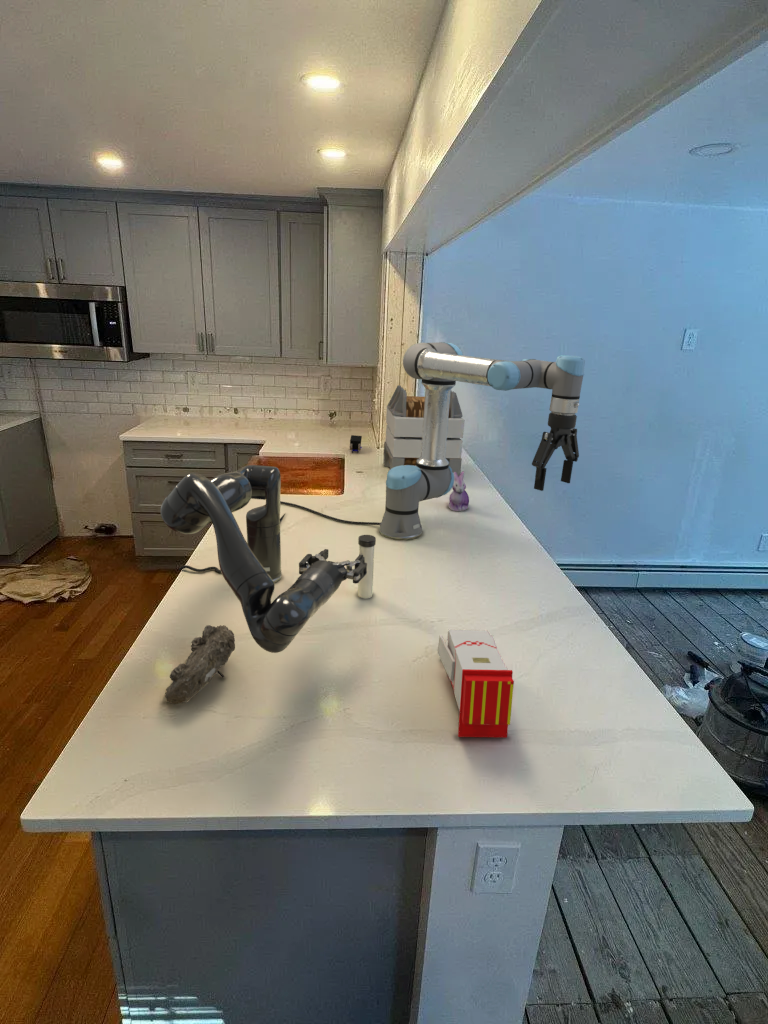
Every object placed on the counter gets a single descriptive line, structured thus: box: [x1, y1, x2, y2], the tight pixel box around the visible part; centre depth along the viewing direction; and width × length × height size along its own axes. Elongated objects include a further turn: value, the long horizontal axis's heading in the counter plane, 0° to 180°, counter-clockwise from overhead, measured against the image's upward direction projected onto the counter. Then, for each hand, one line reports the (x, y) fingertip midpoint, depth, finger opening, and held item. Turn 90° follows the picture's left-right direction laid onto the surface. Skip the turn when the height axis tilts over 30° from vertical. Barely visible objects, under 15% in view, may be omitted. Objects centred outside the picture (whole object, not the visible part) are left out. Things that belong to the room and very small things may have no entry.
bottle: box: [357, 544, 375, 600], centre depth 154 cm, size 4×4×17 cm
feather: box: [280, 513, 286, 523], centre depth 210 cm, size 2×28×2 cm
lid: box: [357, 534, 377, 547], centre depth 151 cm, size 5×5×2 cm
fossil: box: [165, 624, 236, 705], centre depth 118 cm, size 22×10×15 cm
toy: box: [437, 628, 515, 738], centre depth 117 cm, size 12×13×30 cm
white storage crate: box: [383, 384, 465, 476], centre depth 268 cm, size 34×33×41 cm
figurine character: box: [349, 434, 363, 454], centre depth 310 cm, size 7×8×15 cm
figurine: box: [448, 470, 470, 512], centre depth 226 cm, size 9×10×15 cm
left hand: (344, 555), depth 131 cm, fingers open, 8 cm apart
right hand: (552, 485), depth 166 cm, fingers open, 13 cm apart
